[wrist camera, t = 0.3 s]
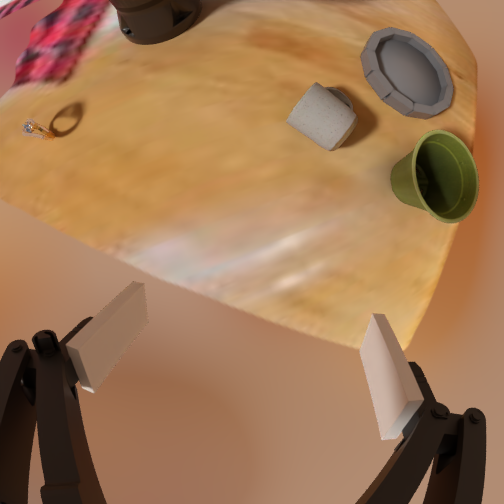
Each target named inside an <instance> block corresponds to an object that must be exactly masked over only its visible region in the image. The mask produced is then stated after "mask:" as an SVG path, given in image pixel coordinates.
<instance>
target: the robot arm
mask: <svg viewBox="0 0 504 504" xmlns="http://www.w3.org/2000/svg"><path fill="white" fill-rule="evenodd" d="M109 1H110V2H111V3H112V5H113V6H114V7H115V8H116V10H117V15H118V20H119V26H120V29H121V31H122V33H123V34H124V35H125V36H126V38H127V39H128V40H129V41H131V42H133V43H136V44H142V45H149V44H156V43H160V42H163V41H166V40H169V39H171V38H173V37H175V36H177V35H179V34H180V33H182V32H184V31H185V30H186V29H188V28H189V27H190V26H191V25H192V24H193V23H194V22H195V21H196V19H197V18H198V16H199V14H200V12H201V8H202V4H201V0H109ZM146 307H147V306H146V297H145V286H144V283H139V282H134V281H133V282H132V283H131V284H130V285H129V286H127V287H126V288H125V289H124V290H123V291H122V292H121V293H120V294H119V295H118V296H116V297H115V298H114V299H113V300H112V301H111V302H110V303H109V304H108V305H107V306H105V307H104V308H103V309H102V310H101V311H100V312H99V313H98V314H97V315H96V316H95V317H88V318H86V319H84V320H83V321H81V322H80V323H79V324H78V325H77V327H75V328H74V329H73V330H72V331H71V332H69V333H68V334H67V335H66V336H65V337H64V338H63V339H62V340H61V341H60V342H58V339H57V336H56V334H55V333H54V332H53V331H51V330H42V331H39V332H38V333H36V334H35V335H34V336H33V338H32V342H33V344H34V347H35V349H36V350H32V349H29V348H28V345H27V343H26V342H25V341H24V340H15V341H13V342H11V343H10V344H9V345H8V346H7V348H6V350H5V352H4V354H3V356H2V359H1V361H0V504H28V482H29V470H30V460H31V452H32V445H33V438H34V432H35V427H36V421H37V428H38V438H39V448H40V455H41V463H42V469H43V473H44V480H45V485H44V486H42V487H41V490H40V492H41V498H42V502H43V504H107V503H106V500H105V498H104V495H103V493H102V489H101V487H100V484H99V481H98V478H97V475H96V472H95V469H94V465H93V462H92V458H91V455H90V451H89V447H88V443H87V439H86V435H85V430H84V426H83V421H82V416H81V411H80V406H79V399H78V393H77V388H76V386H75V384H76V383H77V381H78V380H79V381H80V384H81V386H82V388H83V389H85V390H88V391H90V392H92V393H95V392H96V391H97V389H98V388H99V386H100V385H101V384H102V382H103V381H104V379H105V378H106V377H107V375H108V374H109V373H110V372H111V370H112V369H113V368H114V366H115V365H116V363H117V362H118V361H119V360H120V358H121V357H122V356H123V354H124V353H125V352H126V350H127V349H128V348H129V346H130V345H131V344H132V343H133V341H134V340H135V339H136V337H137V336H138V335H139V334H140V332H141V331H142V330H143V328H144V327H145V326H146V324H147V323H148V316H147V308H146ZM359 352H360V356H361V359H362V363H363V366H364V370H365V374H366V377H367V381H368V385H369V388H370V392H371V397H372V401H373V404H374V409H375V413H376V417H377V421H378V426H379V430H380V435H381V440H386V439H396V438H397V437H398V436H399V434H400V433H401V432H403V436H404V438H403V439H402V441H401V442H400V443H399V444H398V445H397V447H396V448H395V449H394V450H395V451H394V453H393V454H392V456H391V457H390V459H389V460H388V462H387V463H386V465H385V466H384V468H383V469H382V470H381V472H380V473H379V475H378V476H377V477H376V478H375V480H374V481H373V482H372V484H371V485H370V486H369V488H368V489H367V490H366V491H365V493H364V494H363V495H362V496H361V497H360V499H359V500H358V501H357V502H356V503H355V504H408V503H409V502H410V500H411V498H412V497H413V495H414V493H415V492H416V490H417V488H418V486H419V485H420V483H421V481H422V479H423V478H424V475H425V474H426V472H427V470H428V468H429V466H430V464H431V462H432V460H433V458H434V460H433V465H432V471H431V475H430V479H429V483H428V487H427V491H426V494H425V498H424V501H423V504H481V502H482V496H483V488H484V478H485V464H486V419H485V416H484V414H483V413H482V412H481V411H480V410H479V409H476V408H469V409H467V410H466V412H465V413H464V414H463V415H460V414H453V413H450V411H449V409H448V408H447V407H446V406H445V405H443V404H441V403H438V402H436V399H435V397H434V395H433V393H432V391H431V388H430V386H429V384H428V383H427V380H426V377H424V376H425V375H424V373H423V371H422V369H421V368H420V367H419V366H418V365H417V364H416V363H415V362H408V361H407V359H406V357H405V355H404V353H403V351H402V349H401V347H400V344H399V342H398V340H397V338H396V336H395V334H394V332H393V330H392V328H391V326H390V324H389V322H388V320H387V318H386V316H385V315H384V314H374V313H372V316H371V319H370V322H369V325H368V328H367V331H366V334H365V337H364V340H363V343H362V345H361V348H360V351H359Z"/></svg>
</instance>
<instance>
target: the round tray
mask: <svg viewBox="0 0 504 504" xmlns="http://www.w3.org/2000/svg"><path fill="white" fill-rule="evenodd" d="M431 47H432V46H430V45H429V44H428V43H426V42H425V41H423V40H422V39H421V38H419V37H418V36H416V35H415V34H413V33H411V32H408V31H404V30H400V29H396V28H392V27H391V28H390V27H389V28H385V29H382V30H379V31H376V32H374V33H373V34H372V35H371V36H370V38H369V39H368V41H367V43H366V45H365V47H364V49H363V51H362V53H361V61H362V66H363V70H364V75H365V77H366V78H367V79H366V80H367V81H368V82H369V84H370V85H371V86H372V88H373V89H374V90H375V92H376V93H377V95H378V96H379V97H380V99H381V100H382V99H383V102H385V103H386V104H388V105H389V106H391V107H392V108H394V109H395V110H397V111H398V112H400V113H401V114H403V115H406V116H408V117H414V118H421V119H428V118H430V117H432V116H434V115H436V114H438V113H440V112H441V111H443V110H445V109H446V108H448V107H449V106H450V103H451V99H452V95H453V90H454V89H453V84H452V81H451V77H450V74H449V70H448V68H446V67H447V66H446V64H445V63H444V62H443V60H442V59H441V58H440V56H439V55H438V54H437V52H436V51H435V50H434V48H431Z"/></svg>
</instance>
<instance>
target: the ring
mask: <svg viewBox="0 0 504 504" xmlns="http://www.w3.org/2000/svg"><path fill="white" fill-rule="evenodd" d="M25 123H27V125H25V124H22V126H24V129H23V134H22V135H23V136H32V137H37V138H41V139H45V140H49V141H53V140H54V138H55V137H56V135H55V134H54V132H52V131H50V130H49V129H47V128H46V127H44V126H42V125H40V124H37V123H35V122H34V120H33V119H27V120H26V122H25ZM33 129H38V130H40V131H41V132H42V133H44V134H45V135H47V136H45V135H42V134H38V133H32V132H33V131H34V130H33Z"/></svg>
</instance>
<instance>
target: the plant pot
mask: <svg viewBox="0 0 504 504" xmlns="http://www.w3.org/2000/svg"><path fill="white" fill-rule="evenodd" d="M415 167H416V168H417V169H418V170H419V171H420V174H419V173H418V172H417V171H416V168H415ZM391 184H392V189H393V192H394V194H395V195H396V197H397V198H398V199H399V200H400V201H402V202H403V203H405V204H408V205H411V206H414V207H417V208H420V209H423V210H426V211H427V212H429V213H430V214H431V215H432V216H433V217H434V218H436V219H437V220H439V221H441V222H444V223H457V222H460V221H462V220H463V219H465V218H466V217H467V216H468V215H469V214H470V213H471V211H472V210H473V208H474V206H475V204H476V201H477V197H478V191H479V177H478V171H477V167H476V164H475V161H474V159H473V156H472V154H471V153H470V151H469V149H468V148H467V146H466V145H465V144H464V143H463V142H462V141H461V140H460V139H459V138H458V137H456V136H455V135H454V134H452V133H450V132H448V131H444V130H433V131H430V132H428V133H426V134H425V135H423V136H422V137H421V138H420V140H419V141H418V142H417V144H416V146H415V148H414V150H413V151H412V152H411V153H409V154H408V155H407V156H406V157H404V158H403V159H402V160H401V161H399V162H398V163H397V164H396V165H395V166H394V168H393V170H392V173H391ZM422 189H423V192H422V194H421V193H420V191H421V190H422Z"/></svg>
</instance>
